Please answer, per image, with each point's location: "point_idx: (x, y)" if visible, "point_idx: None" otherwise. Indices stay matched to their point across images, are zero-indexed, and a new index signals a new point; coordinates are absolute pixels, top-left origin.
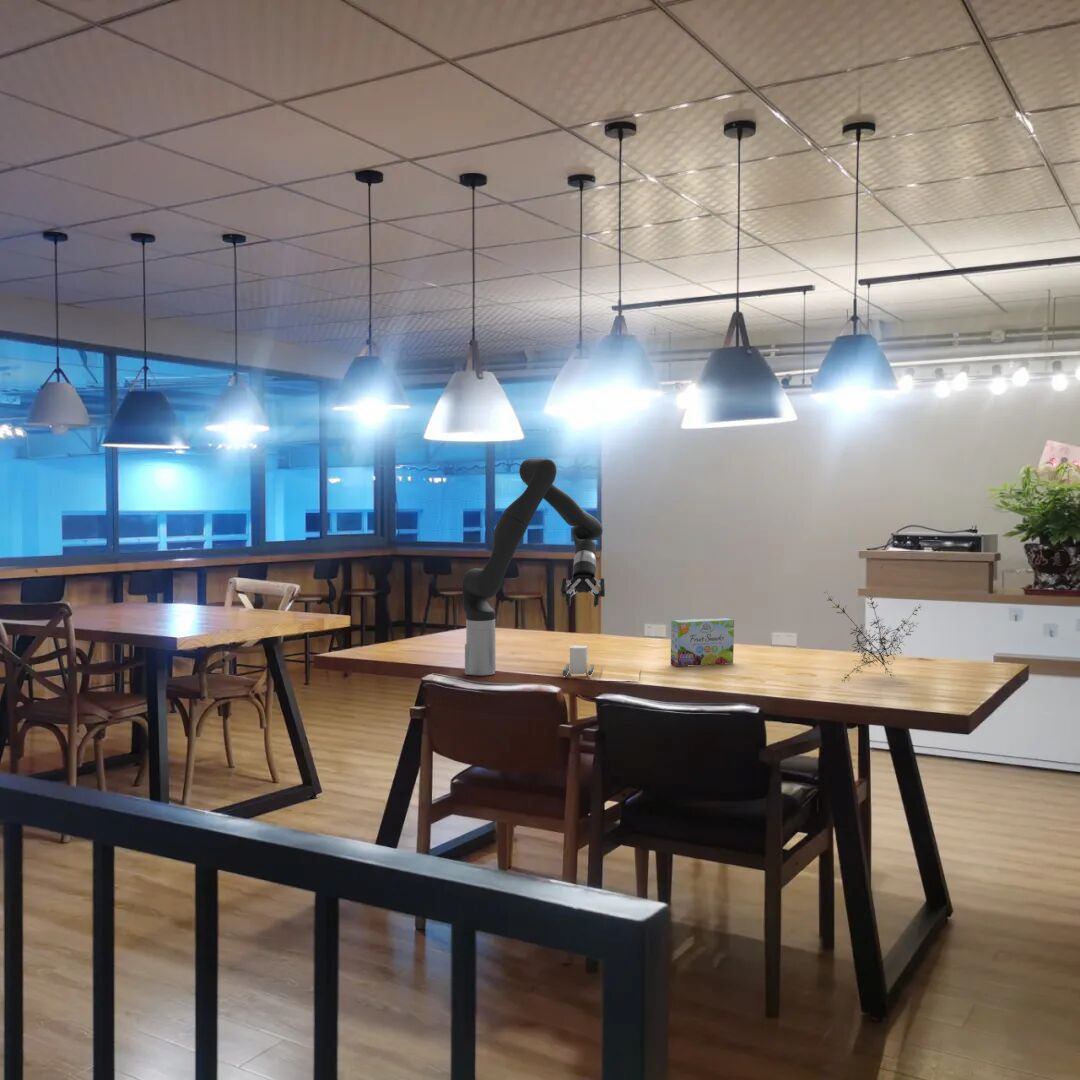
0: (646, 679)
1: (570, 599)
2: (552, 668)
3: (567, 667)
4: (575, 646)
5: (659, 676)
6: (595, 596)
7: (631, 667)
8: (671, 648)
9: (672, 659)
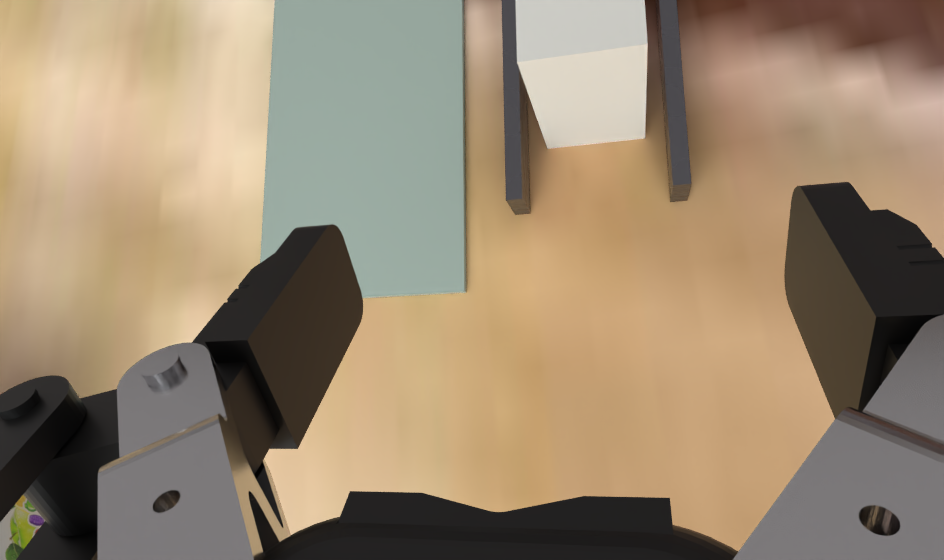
0: (243, 71)
1: (831, 349)
2: None
3: (663, 64)
4: (606, 9)
5: (182, 164)
6: (251, 299)
7: (308, 430)
8: (3, 552)
9: None
